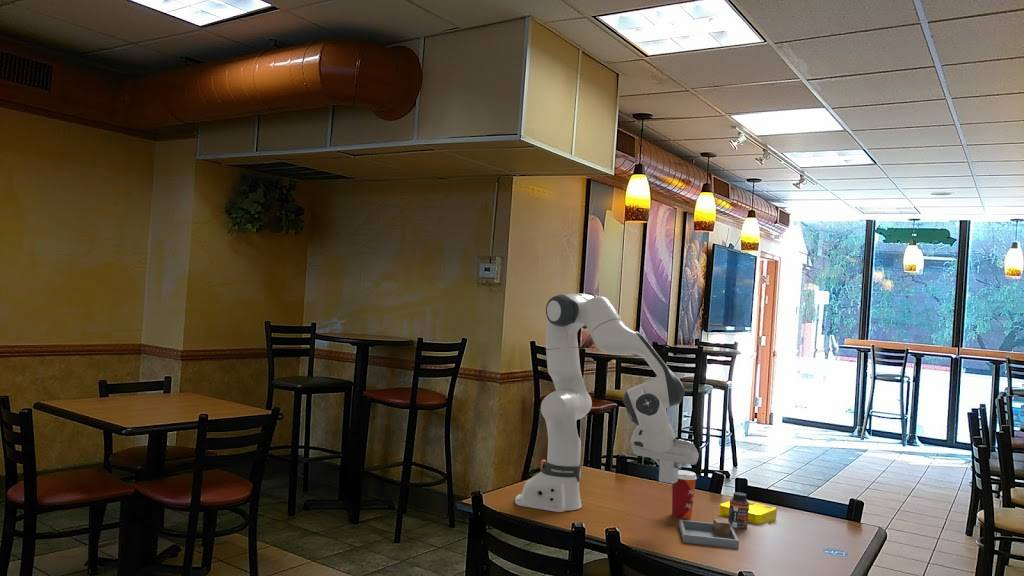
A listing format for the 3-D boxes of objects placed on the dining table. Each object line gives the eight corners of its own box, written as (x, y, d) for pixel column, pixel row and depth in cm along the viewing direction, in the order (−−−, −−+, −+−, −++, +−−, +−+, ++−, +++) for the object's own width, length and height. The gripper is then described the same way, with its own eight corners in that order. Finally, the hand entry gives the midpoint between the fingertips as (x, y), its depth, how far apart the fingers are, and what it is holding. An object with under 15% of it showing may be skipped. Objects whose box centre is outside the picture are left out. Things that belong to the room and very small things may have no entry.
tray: (683, 545, 216) (683, 534, 216) (679, 529, 231) (679, 519, 231) (738, 551, 214) (739, 540, 214) (730, 534, 229) (731, 525, 229)
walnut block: (716, 535, 224) (717, 522, 224) (712, 531, 228) (713, 518, 228) (729, 536, 224) (730, 523, 224) (725, 532, 228) (726, 519, 228)
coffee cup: (694, 523, 239) (697, 476, 239) (668, 519, 241) (671, 473, 241) (693, 516, 247) (696, 471, 248) (668, 513, 249) (671, 468, 249)
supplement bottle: (737, 532, 232) (739, 496, 232) (723, 527, 237) (726, 491, 237) (751, 531, 234) (753, 495, 235) (737, 525, 240) (739, 490, 240)
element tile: (716, 517, 250) (717, 502, 250) (736, 509, 261) (737, 496, 261) (759, 528, 240) (759, 513, 240) (778, 520, 250) (779, 506, 251)
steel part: (672, 483, 227) (674, 452, 227) (658, 481, 229) (660, 450, 230) (677, 481, 231) (679, 450, 231) (664, 478, 233) (665, 448, 233)
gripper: (696, 433, 219) (705, 462, 227) (632, 424, 230) (642, 452, 238) (690, 451, 215) (699, 479, 223) (625, 440, 226) (636, 468, 234)
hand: (669, 465), depth 231 cm, fingers closed on steel part, 4 cm apart
